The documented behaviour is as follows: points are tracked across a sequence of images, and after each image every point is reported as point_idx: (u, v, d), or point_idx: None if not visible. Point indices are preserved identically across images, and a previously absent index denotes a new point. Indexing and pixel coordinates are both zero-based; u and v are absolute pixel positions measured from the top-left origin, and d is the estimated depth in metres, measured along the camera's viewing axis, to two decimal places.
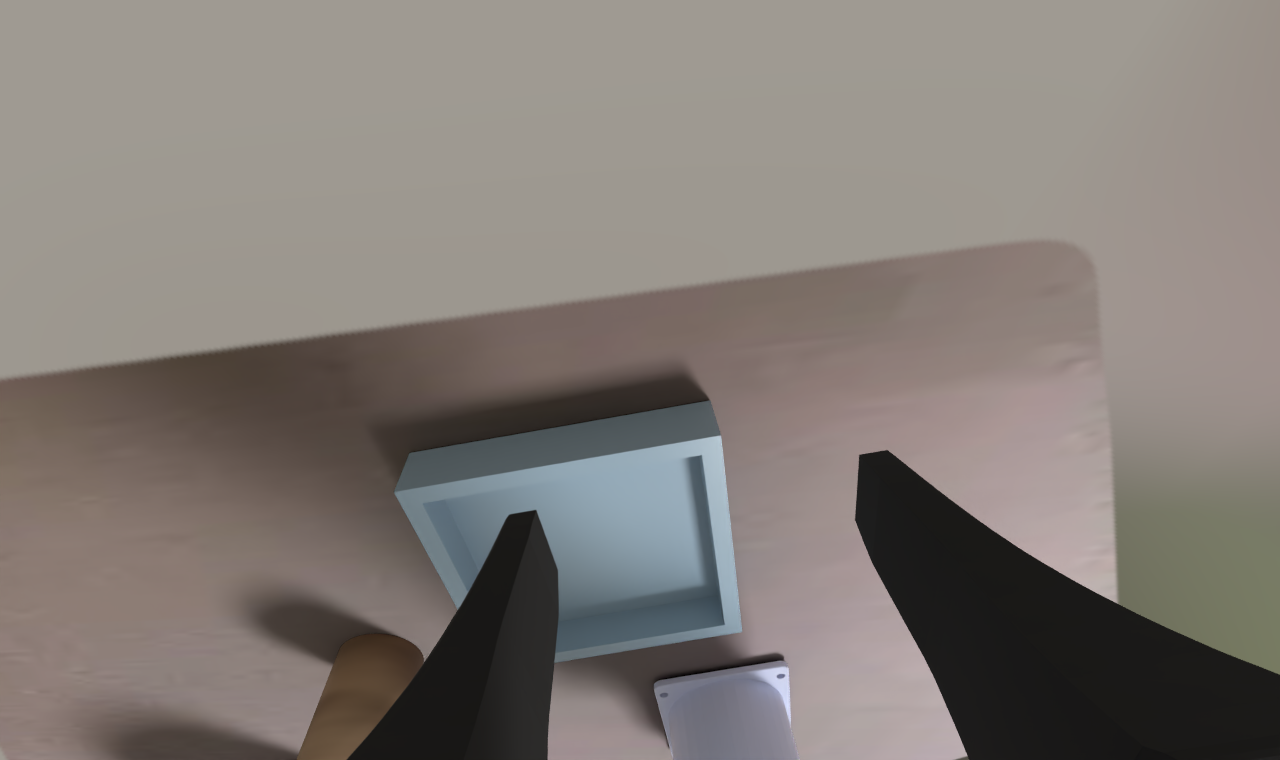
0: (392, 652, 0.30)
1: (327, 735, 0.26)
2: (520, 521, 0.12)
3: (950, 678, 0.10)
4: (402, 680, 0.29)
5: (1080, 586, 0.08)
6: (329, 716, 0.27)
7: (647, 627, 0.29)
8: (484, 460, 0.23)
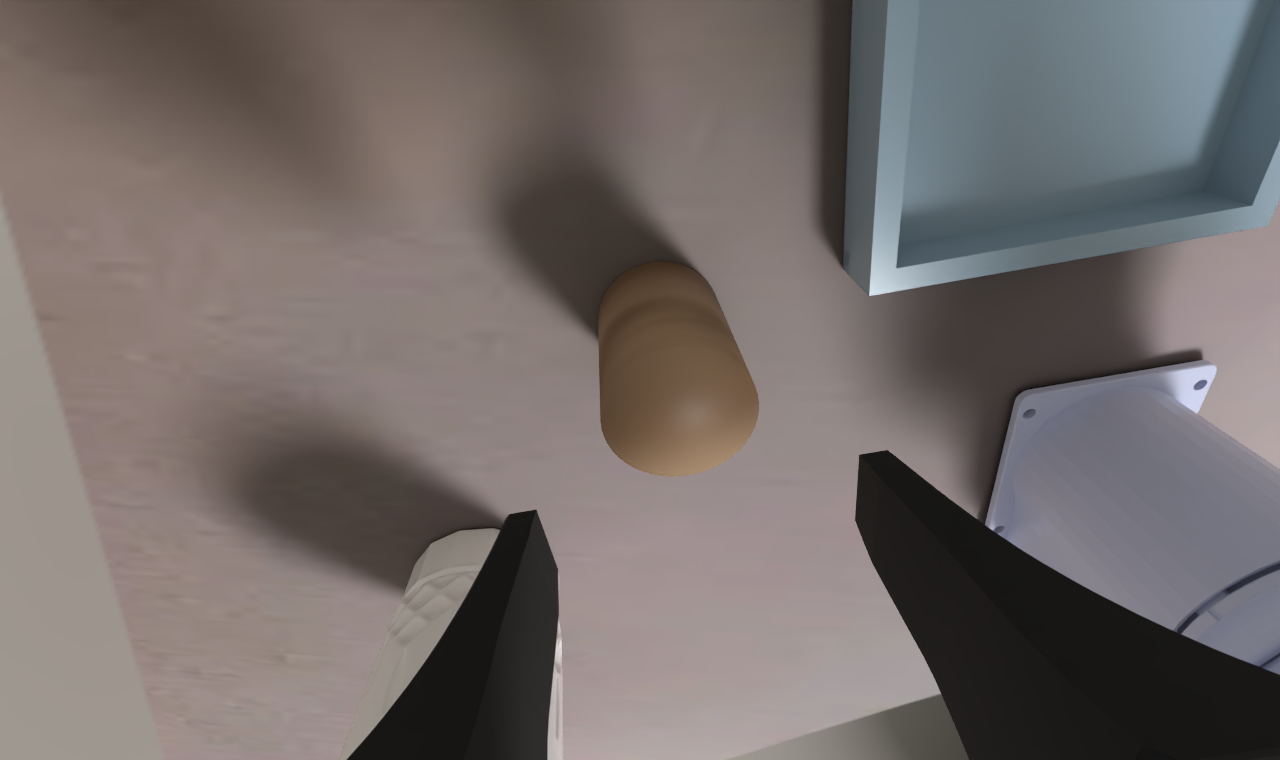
0: (698, 281, 0.20)
1: (663, 330, 0.16)
2: (520, 521, 0.12)
3: (950, 678, 0.10)
4: (723, 314, 0.19)
5: (1080, 586, 0.08)
6: (653, 318, 0.16)
7: (1115, 222, 0.18)
8: None
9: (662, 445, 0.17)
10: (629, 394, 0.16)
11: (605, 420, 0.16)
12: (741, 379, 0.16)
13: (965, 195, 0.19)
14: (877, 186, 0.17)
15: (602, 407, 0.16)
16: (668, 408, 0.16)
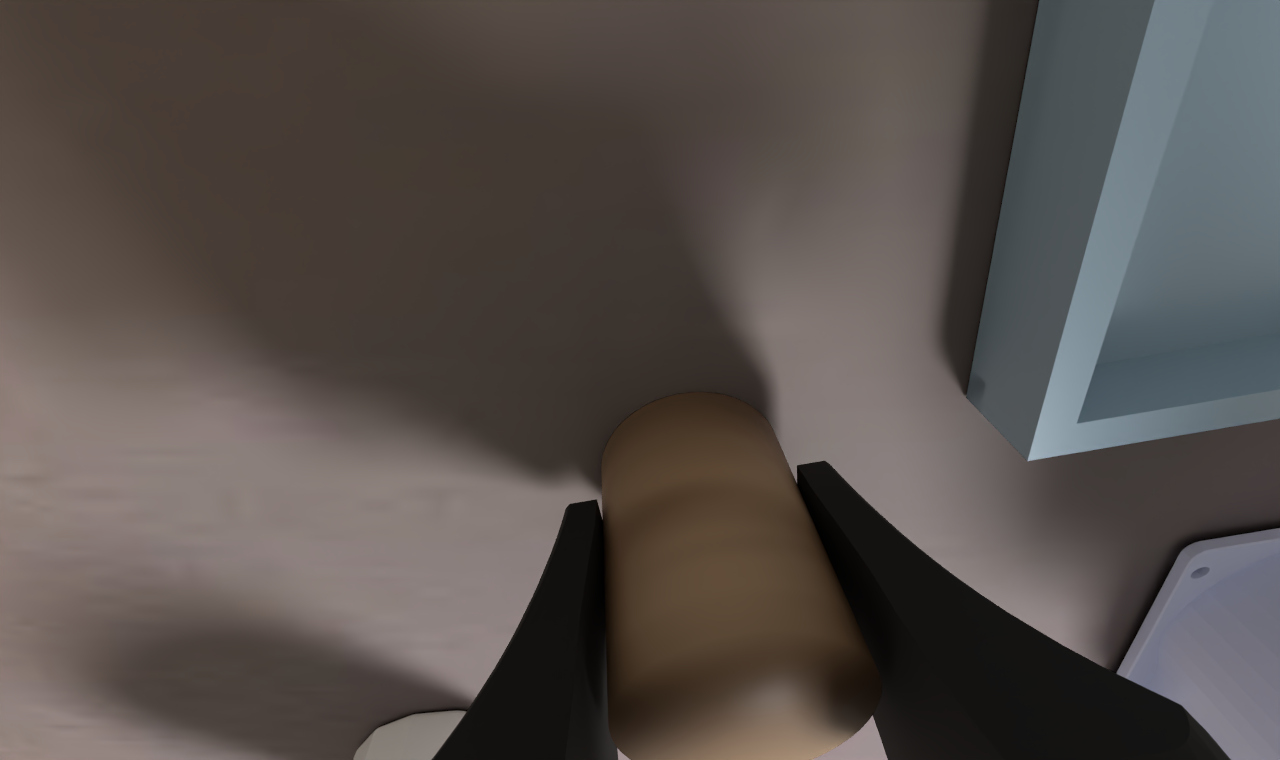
0: (756, 427, 0.13)
1: (718, 576, 0.09)
2: (582, 510, 0.12)
3: None
4: (796, 484, 0.12)
5: (987, 601, 0.08)
6: (696, 536, 0.10)
7: None
8: None
9: (712, 747, 0.10)
10: (660, 693, 0.09)
11: (616, 724, 0.09)
12: (857, 666, 0.09)
13: (1175, 301, 0.12)
14: (1071, 308, 0.10)
15: (611, 709, 0.09)
16: (726, 706, 0.09)
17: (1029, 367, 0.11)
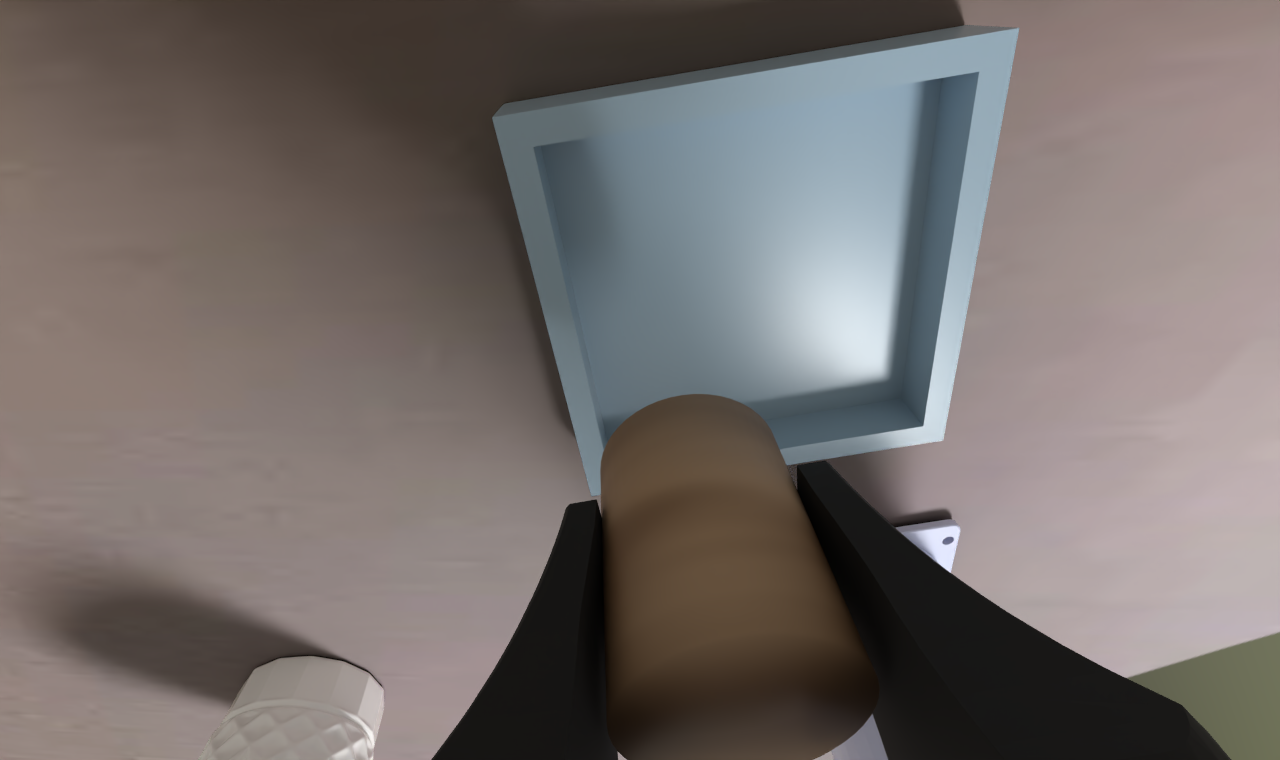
0: (758, 431, 0.13)
1: (722, 577, 0.09)
2: (582, 511, 0.12)
3: None
4: None
5: (987, 601, 0.08)
6: (700, 537, 0.10)
7: (810, 433, 0.21)
8: (629, 88, 0.15)
9: (707, 748, 0.10)
10: (661, 692, 0.09)
11: (615, 723, 0.09)
12: (856, 670, 0.09)
13: None
14: (572, 419, 0.19)
15: (611, 708, 0.09)
16: (725, 707, 0.09)
17: None
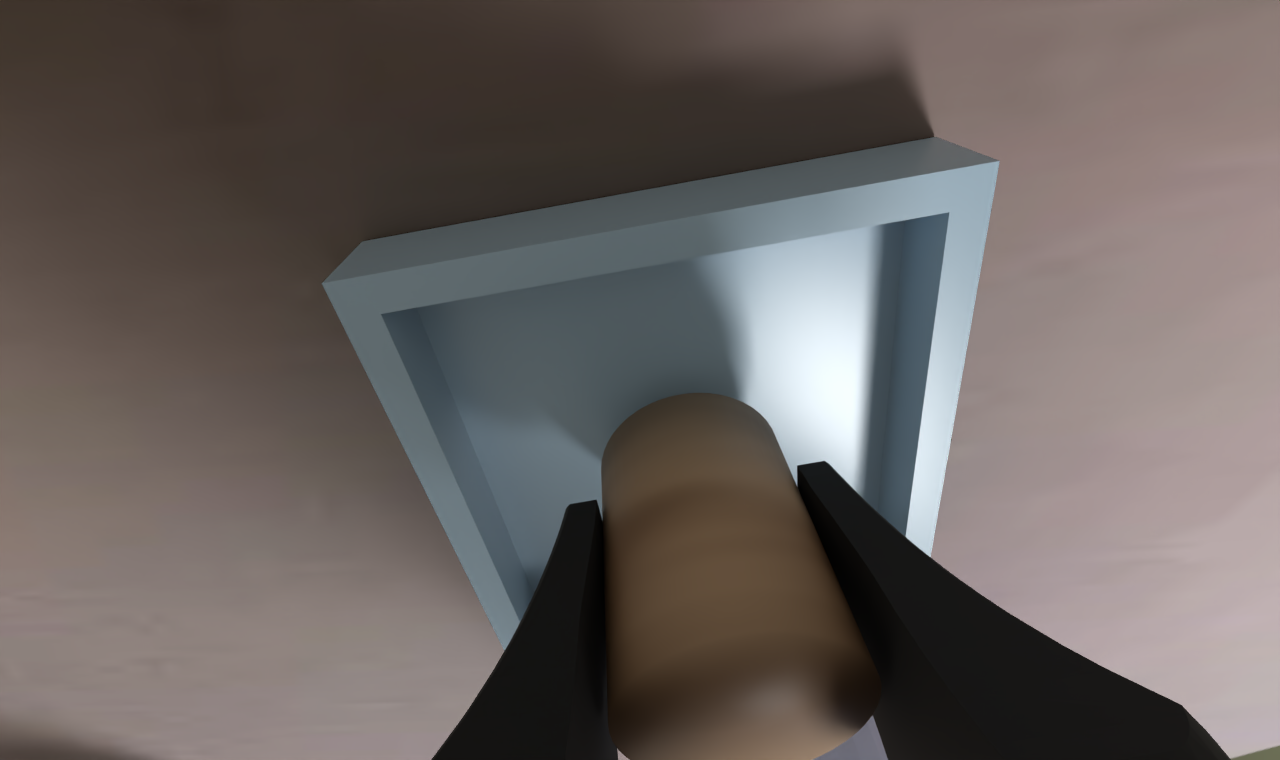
0: (759, 430, 0.13)
1: (724, 576, 0.09)
2: (582, 511, 0.12)
3: None
4: (797, 488, 0.12)
5: (986, 601, 0.08)
6: (702, 535, 0.10)
7: None
8: (505, 234, 0.12)
9: (709, 747, 0.10)
10: (663, 691, 0.09)
11: (616, 722, 0.09)
12: (858, 669, 0.09)
13: None
14: (475, 590, 0.16)
15: (612, 707, 0.09)
16: (727, 706, 0.09)
17: None
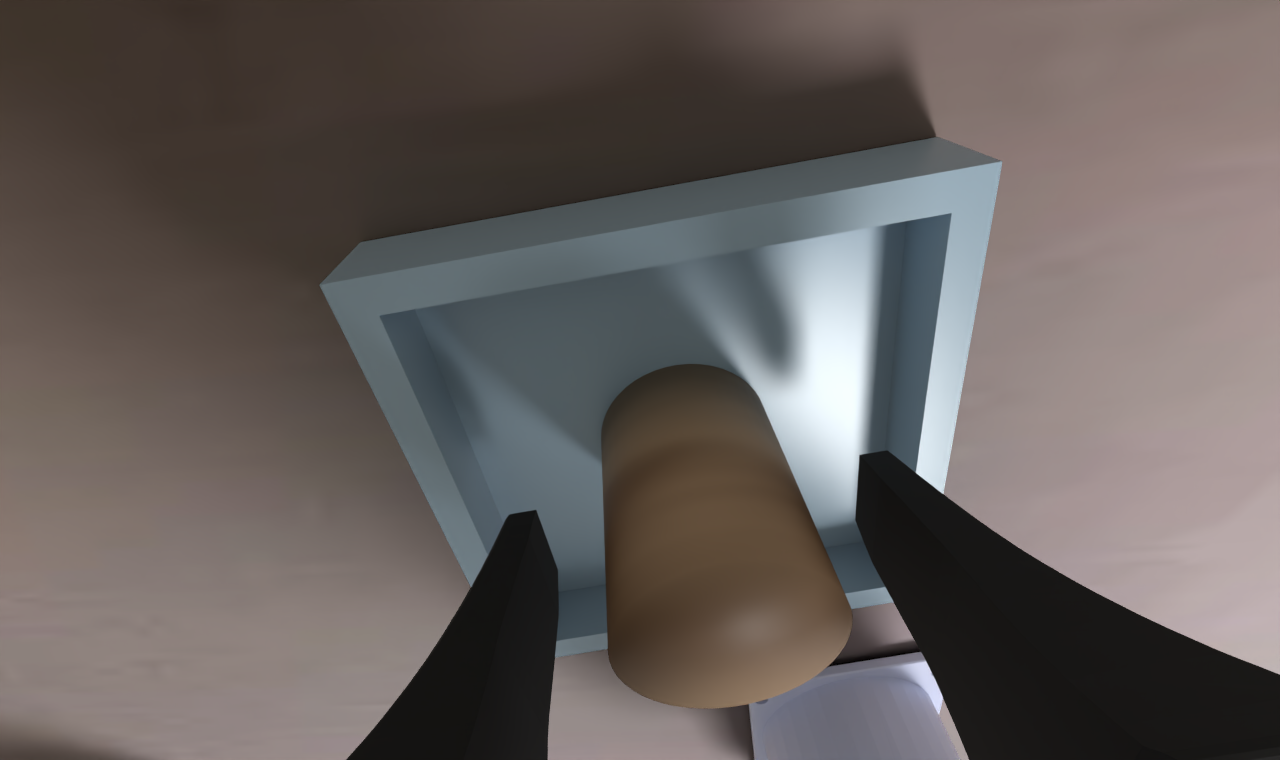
0: (747, 397, 0.14)
1: (712, 515, 0.10)
2: (520, 521, 0.12)
3: (950, 678, 0.10)
4: None
5: (1080, 586, 0.08)
6: (692, 484, 0.11)
7: None
8: (505, 235, 0.11)
9: (699, 675, 0.11)
10: (656, 618, 0.10)
11: (615, 648, 0.10)
12: (831, 599, 0.10)
13: None
14: None
15: (612, 633, 0.10)
16: (714, 634, 0.10)
17: None
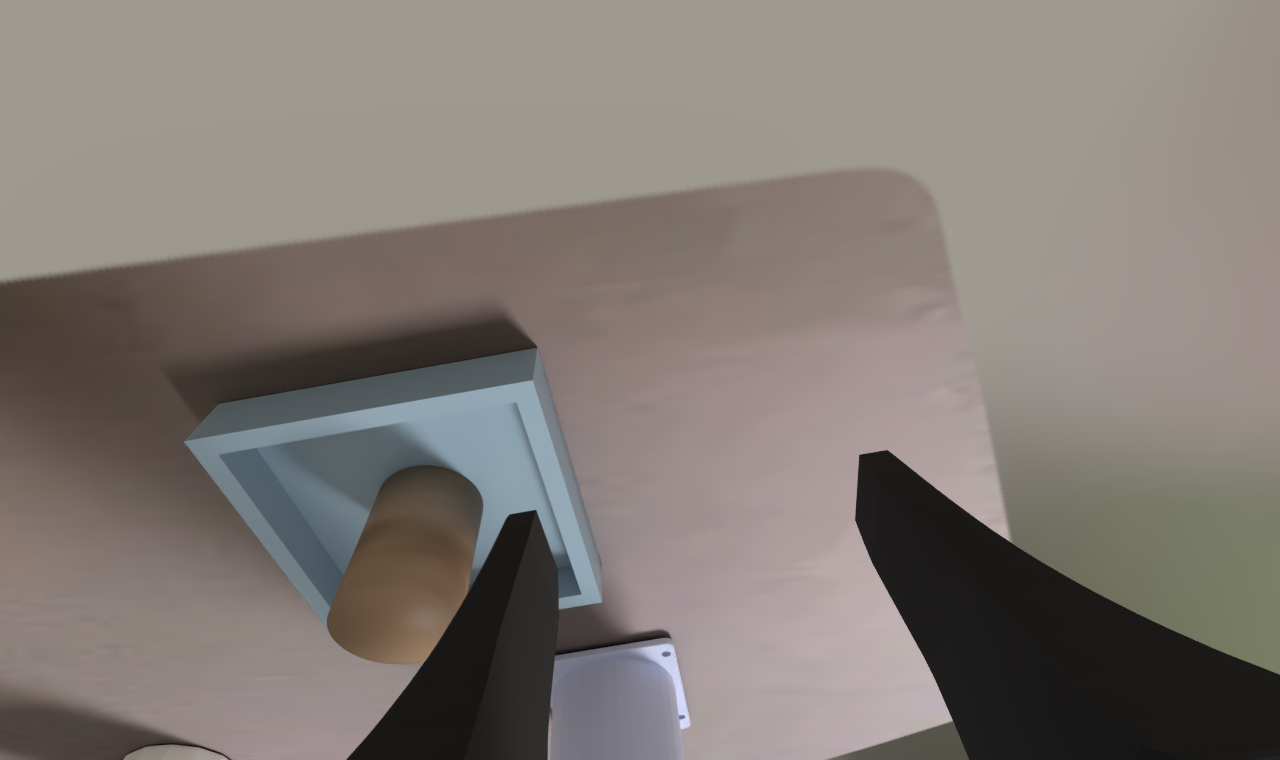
0: (451, 486, 0.24)
1: (379, 563, 0.20)
2: (520, 521, 0.12)
3: (950, 678, 0.10)
4: (466, 518, 0.23)
5: (1080, 586, 0.08)
6: (380, 544, 0.21)
7: None
8: (288, 409, 0.21)
9: (385, 645, 0.21)
10: (348, 615, 0.20)
11: (332, 630, 0.20)
12: (437, 605, 0.20)
13: None
14: (305, 600, 0.26)
15: (327, 622, 0.20)
16: (383, 622, 0.20)
17: None
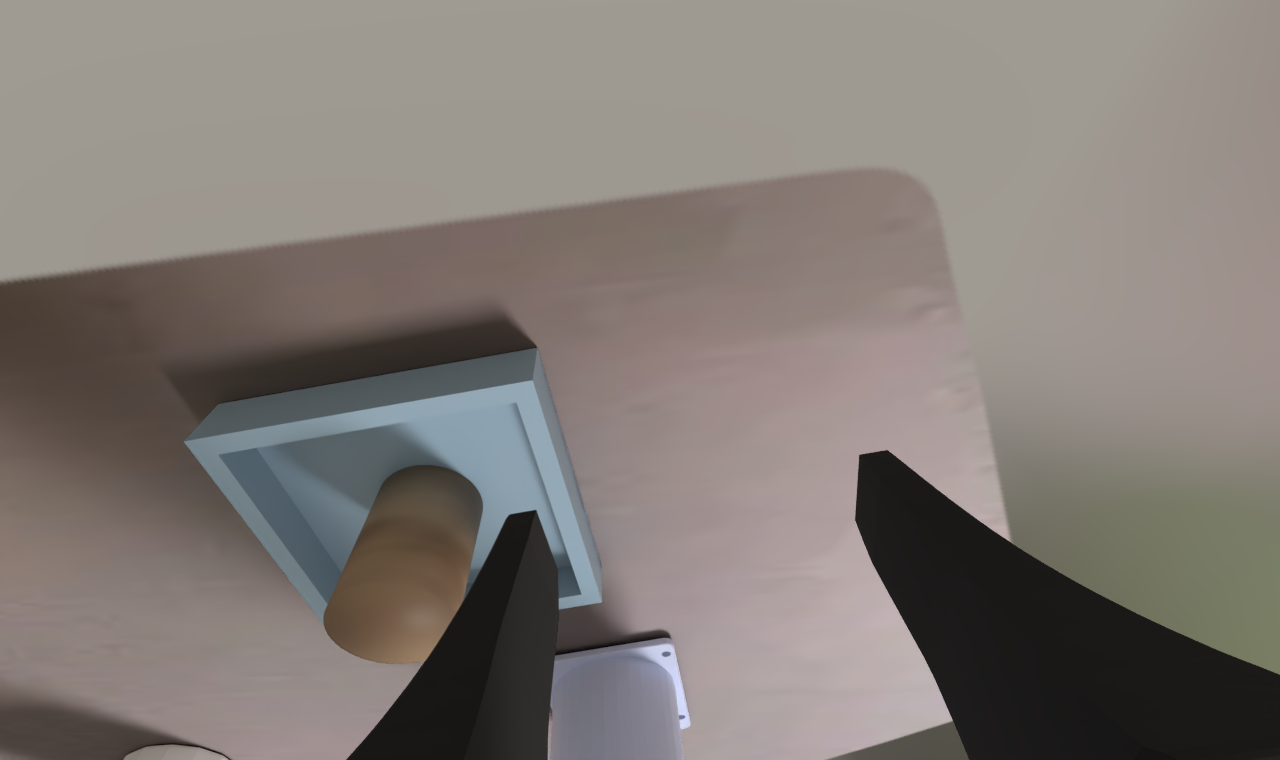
0: (452, 486, 0.24)
1: (377, 560, 0.20)
2: (520, 521, 0.12)
3: (950, 678, 0.10)
4: (465, 519, 0.23)
5: (1080, 586, 0.08)
6: (379, 542, 0.21)
7: None
8: (287, 409, 0.21)
9: (381, 644, 0.21)
10: (344, 611, 0.20)
11: (329, 627, 0.20)
12: (434, 603, 0.20)
13: None
14: (305, 600, 0.26)
15: (324, 619, 0.20)
16: (380, 621, 0.20)
17: None
